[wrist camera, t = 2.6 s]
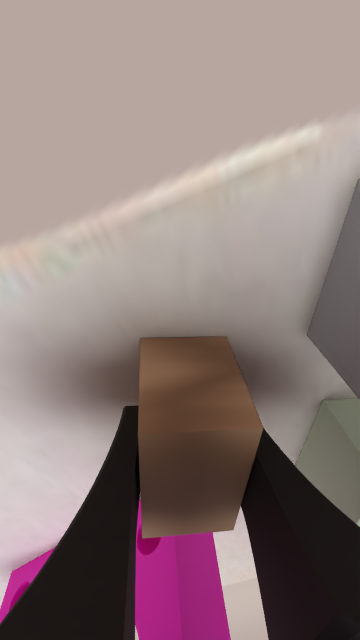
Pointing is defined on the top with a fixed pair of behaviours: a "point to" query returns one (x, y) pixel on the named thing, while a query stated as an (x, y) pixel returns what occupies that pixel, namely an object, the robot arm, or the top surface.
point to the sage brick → (335, 455)
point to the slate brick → (342, 303)
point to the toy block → (161, 587)
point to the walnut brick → (193, 436)
